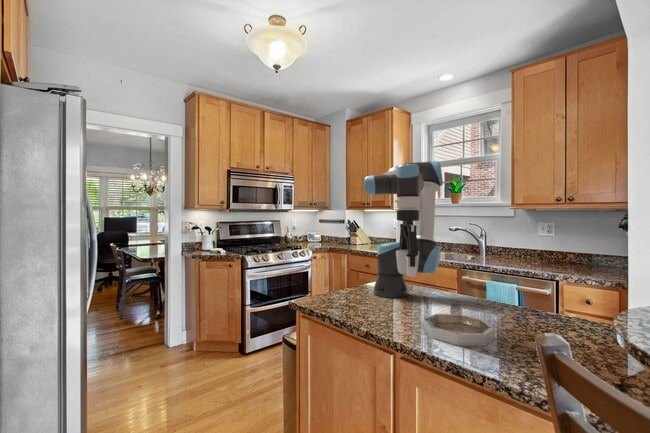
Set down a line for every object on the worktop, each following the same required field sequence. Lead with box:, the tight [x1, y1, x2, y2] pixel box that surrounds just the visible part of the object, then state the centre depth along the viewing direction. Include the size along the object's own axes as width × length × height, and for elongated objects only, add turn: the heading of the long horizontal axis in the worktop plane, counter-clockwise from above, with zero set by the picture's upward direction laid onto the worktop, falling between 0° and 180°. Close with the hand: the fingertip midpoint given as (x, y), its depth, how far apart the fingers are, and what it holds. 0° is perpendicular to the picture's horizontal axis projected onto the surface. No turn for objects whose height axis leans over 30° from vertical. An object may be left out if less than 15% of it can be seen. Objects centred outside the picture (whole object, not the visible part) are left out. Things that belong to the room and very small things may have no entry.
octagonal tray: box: [423, 313, 496, 347], centre depth 97 cm, size 18×18×3 cm
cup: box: [396, 250, 419, 276], centre depth 112 cm, size 11×8×8 cm
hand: (407, 273), depth 112 cm, fingers closed on cup, 11 cm apart
